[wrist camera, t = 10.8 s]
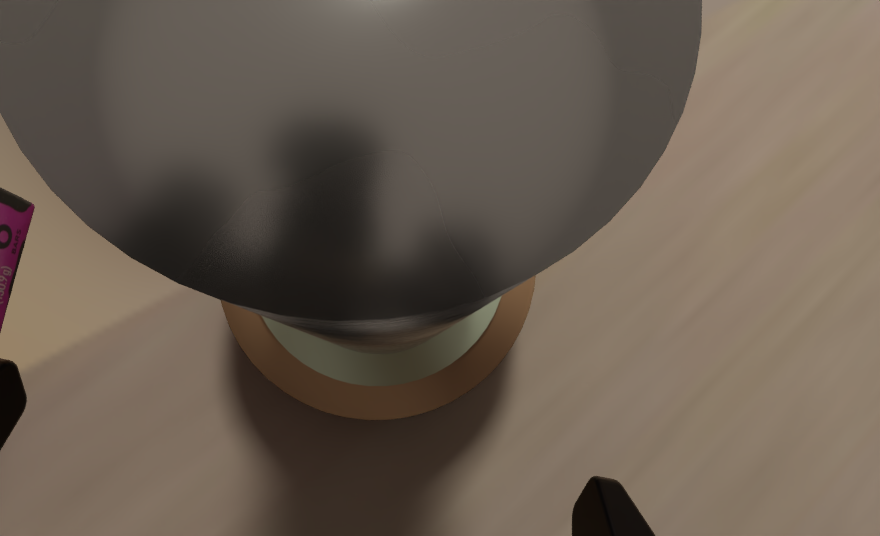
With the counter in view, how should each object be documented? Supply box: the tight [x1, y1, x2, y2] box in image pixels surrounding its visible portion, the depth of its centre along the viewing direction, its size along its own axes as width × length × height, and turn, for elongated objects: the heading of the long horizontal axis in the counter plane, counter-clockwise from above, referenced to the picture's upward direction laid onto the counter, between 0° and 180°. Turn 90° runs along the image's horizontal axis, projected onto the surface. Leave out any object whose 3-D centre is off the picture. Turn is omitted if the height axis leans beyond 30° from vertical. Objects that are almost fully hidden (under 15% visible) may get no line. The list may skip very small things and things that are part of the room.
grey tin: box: [0, 0, 702, 354], centre depth 11 cm, size 6×6×13 cm
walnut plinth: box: [221, 276, 535, 420], centre depth 19 cm, size 10×10×3 cm
